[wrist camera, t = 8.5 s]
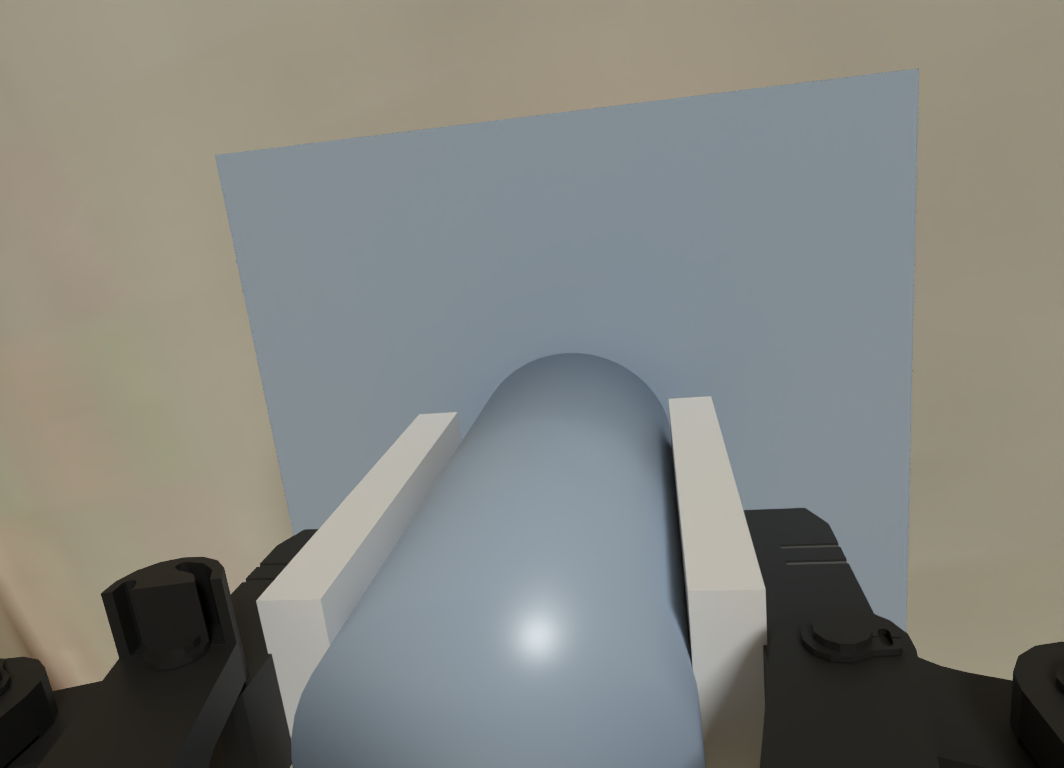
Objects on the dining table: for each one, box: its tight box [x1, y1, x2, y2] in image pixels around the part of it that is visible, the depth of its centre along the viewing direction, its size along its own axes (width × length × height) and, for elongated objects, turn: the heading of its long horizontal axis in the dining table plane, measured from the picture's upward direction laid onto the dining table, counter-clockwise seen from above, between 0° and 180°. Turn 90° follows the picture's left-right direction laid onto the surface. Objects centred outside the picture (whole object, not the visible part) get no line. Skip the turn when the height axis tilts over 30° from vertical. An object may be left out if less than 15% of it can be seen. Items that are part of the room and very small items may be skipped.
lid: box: [215, 68, 919, 768], centre depth 12 cm, size 13×13×10 cm
